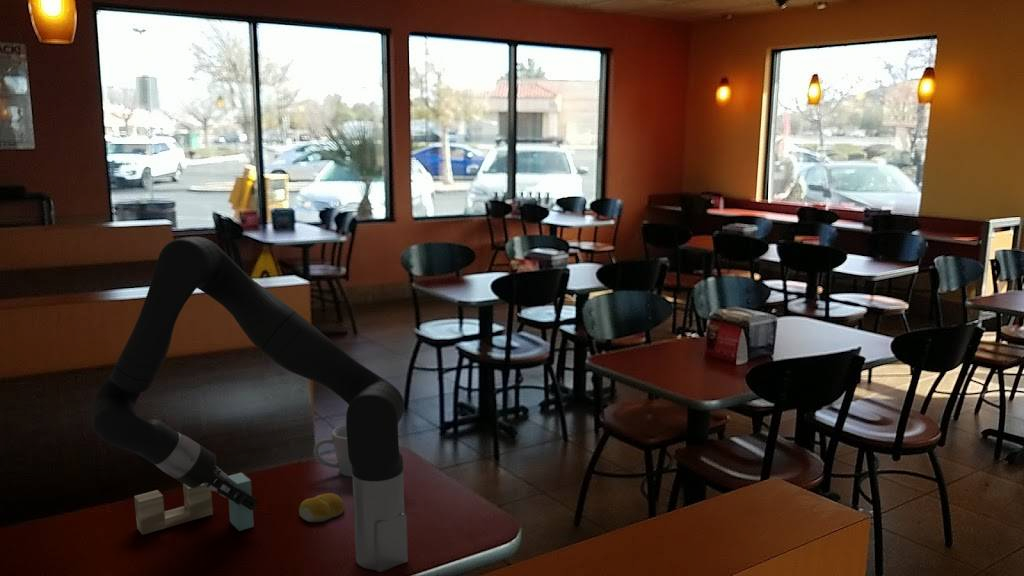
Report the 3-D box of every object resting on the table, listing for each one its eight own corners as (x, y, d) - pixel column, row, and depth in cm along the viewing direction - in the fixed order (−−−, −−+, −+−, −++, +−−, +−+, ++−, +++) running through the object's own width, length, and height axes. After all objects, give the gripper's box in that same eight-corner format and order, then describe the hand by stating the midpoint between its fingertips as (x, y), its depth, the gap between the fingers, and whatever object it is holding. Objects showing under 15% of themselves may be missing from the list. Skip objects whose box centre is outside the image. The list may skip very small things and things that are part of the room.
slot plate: (212, 514, 170) (210, 482, 169) (142, 534, 161) (139, 502, 160) (207, 508, 173) (204, 477, 171) (137, 528, 164) (134, 496, 163)
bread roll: (351, 512, 171) (350, 494, 170) (314, 527, 165) (313, 508, 164) (328, 500, 177) (328, 483, 176) (292, 514, 170) (291, 496, 169)
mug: (382, 475, 189) (381, 434, 187) (317, 485, 184) (315, 444, 182) (373, 459, 199) (371, 420, 197) (311, 468, 193) (309, 428, 191)
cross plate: (253, 526, 165) (250, 480, 163) (239, 531, 163) (236, 484, 161) (244, 517, 168) (241, 472, 167) (230, 522, 167) (226, 476, 165)
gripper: (210, 454, 152) (274, 495, 161) (185, 433, 163) (246, 473, 172) (183, 488, 150) (250, 528, 159) (160, 464, 161) (223, 503, 170)
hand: (248, 499), depth 166 cm, fingers open, 6 cm apart
